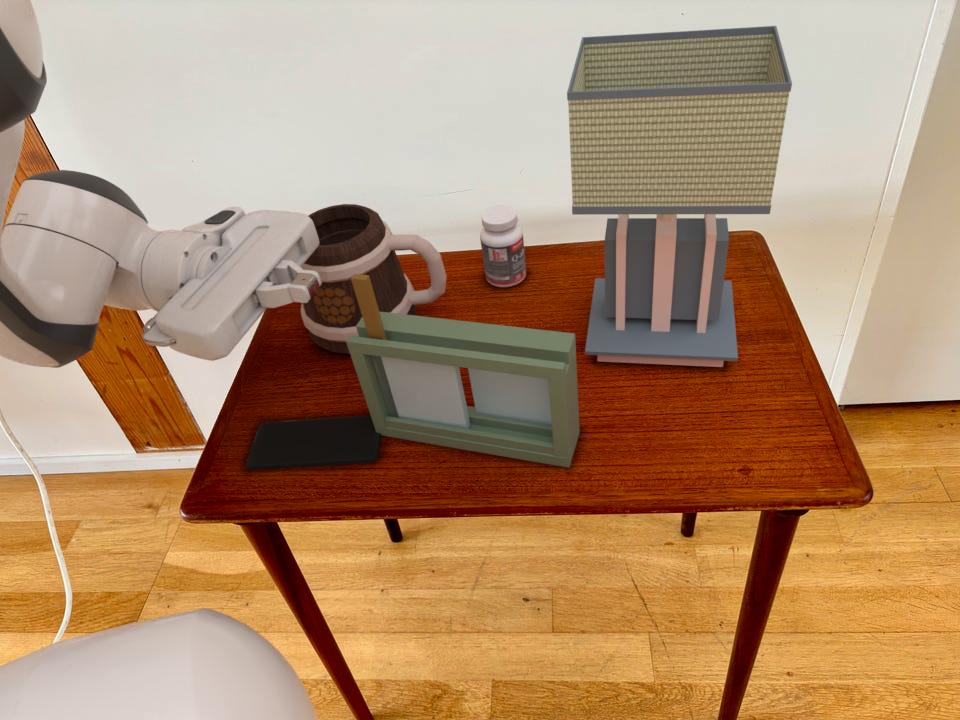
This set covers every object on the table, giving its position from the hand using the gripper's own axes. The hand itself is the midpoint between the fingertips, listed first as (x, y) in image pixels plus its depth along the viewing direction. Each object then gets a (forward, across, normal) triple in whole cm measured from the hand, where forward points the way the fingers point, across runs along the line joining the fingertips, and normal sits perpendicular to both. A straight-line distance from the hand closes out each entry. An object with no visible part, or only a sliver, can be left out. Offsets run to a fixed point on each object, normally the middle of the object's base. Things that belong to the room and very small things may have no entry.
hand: (313, 287), depth 69 cm
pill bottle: (+9, +30, +19) cm, 36 cm away
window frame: (+14, +1, +19) cm, 24 cm away
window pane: (+9, 0, +17) cm, 20 cm away
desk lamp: (+31, +22, +19) cm, 42 cm away
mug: (-5, +18, +19) cm, 27 cm away
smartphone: (-4, -4, +20) cm, 21 cm away
